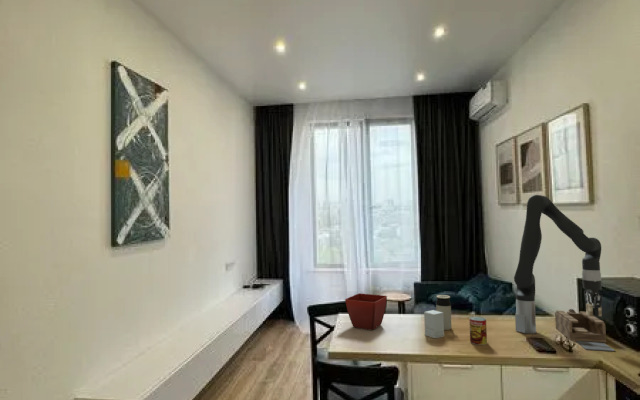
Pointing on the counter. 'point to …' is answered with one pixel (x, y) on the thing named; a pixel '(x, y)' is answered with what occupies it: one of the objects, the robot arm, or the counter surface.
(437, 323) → the supplement box
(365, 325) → the plant pot
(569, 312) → the vase
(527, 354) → the counter surface
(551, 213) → the robot arm
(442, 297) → the travel mug
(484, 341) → the canned food
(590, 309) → the block
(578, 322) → the station
